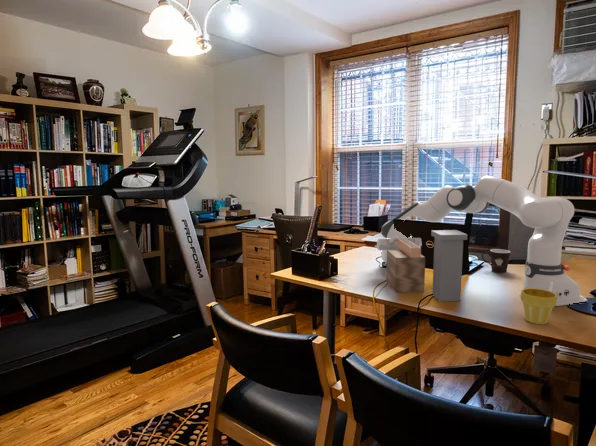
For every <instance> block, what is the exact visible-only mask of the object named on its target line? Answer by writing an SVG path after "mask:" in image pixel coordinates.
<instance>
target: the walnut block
mask: <svg viewBox="0 0 596 446" xmlns="http://www.w3.org/2000/svg"><path fill="white" fill-rule="evenodd" d="M385 271H386V274H385V276H386V279H385V282H386V283H387V284H388V286H389V287H390V288H391V289H392V290H393V291H394V293H418V292H419V293H423V292H425V281H426V279H425V278H426V277H425V276H426V275H425V274H426V273H425V272H426V256H424V255H423V254H421V258H411V257H409V256H408V255H407V254H405V253H404V252H403V251H401V250H387V263H386V270H385Z"/></svg>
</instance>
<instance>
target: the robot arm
mask: <svg viewBox="0 0 596 446" xmlns="http://www.w3.org/2000/svg"><path fill="white" fill-rule="evenodd" d="M490 205H494V206H495V207H498V208H500V209H502V210H503V211H507V212H509V213H511V214H512V215H513V216H516V217H517V218H518V219H519V220H520V221H521V223H522V224H523V225H524V226H526V227H528V228H532V229H534V231H533V233H532V236H531V237H530V238H529V240H528V244H527V256H526V260H525V263H524V275H525V276H524V280H523V283H522V284H523V285H522V288H521V290H520V293H519V296H520V297H521V291H522V290H523V289H526V288H538V289H544V290H548V291H551V292H554V293H555V294H556V295H557V302H556V306H555V307H560V306H568V305H569V304H570V305H574V304H573V303H579V302H585V301H587V302H588V299H587V298H586V297H585V296H583V295H581V290H580V289H581V288H580V285H579V284H578V283H577V282H576V281H575V280H574V279H572V278H571V277H570V276H568V275H567V274H566V273H565V271H566V272H570V271H571V269H572V268H571V266H570V265H568V264H562V263H561V259H562V249H563V248H562V247H563V243H564V239H565V235H566V232H567V229H568V226H569V224H570V221H571V220H572V218H573V217H574V214H575V206H574V204H573V203H572V202H571V201H570V200H569V199H567V198H564V197H560V196H551V197H543V196H539V195H537V194H535V193H532V192H531V191H529V190H528V188H527V187H525V186H522V185H520V184H517V183H514V182H512V181H510V180H506V179H503V178H500V177H497V176H491V175H484V176H482V177H480V178H479V179H478V180H477V182H476V184H475V185H473V186H472V185H471V184H466V185H465V184H464V185H459V186H452V185H444V186H443V187H442V188H440V189H438V190H437V191H436V192H435V193H433V195H431V197H429V198H428V199H426V201H423V202H421V201H417V202H415V203H413V204H411V205H410V206H409V207H407V208H406V209H405V210H403V211H402V212H401V213H399V214H398V215H397V216H395V217H394V218H392V219H390V220H389V221H386V222H385V223H384V224H383V225H382V226H381V236H382V237H383V238H378V239H377V240H376V244H375V245H374V248H375V249H377V250H378V251H381V254H380V256H381V259H382V261H383V262H384V263H385V264H387V250H400V249H399V248H398V247H396V241H397V238H406V239H408V240H410V241H411V242H413V243H414V244H416V245H417V246H419V247H420V248H422V245H423V244H422V243H423V242H422V238H421V237H413V236H412V235H411V236H410V237H408V238H407V237H406V236H405V235H403V234H402V233H401V232H399V231H397V230H396V228H395V229H394V224H393V220H394V219H401V220H404V221H405V220H407V219H408V218H410V217H417V218H418V219H421V220H423V221H426V222H429V223H438V222H440V221H442V220H443V219H444V218H446V217H447V216H448V215H449V214H450V213H451V212H452V211H457V212H458V211H459V212H461V213H466V214H475V215H476V214H477V215H478V214H481V213H483V212H486V211H487V209H488V208H489V207H490ZM412 237H413V238H412ZM579 304H580V303H579Z"/></svg>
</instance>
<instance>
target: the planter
mask: <svg viewBox="0 0 596 446" xmlns="http://www.w3.org/2000/svg"><path fill="white" fill-rule="evenodd" d="M396 247H398V248H399V249H400V250H401V251H403V252H404V253H405V254H407V255H408V256H409V257H411V258H421V255H422V247H419V246H417V245H416V244H414V243H413V242H411V241H410V240H408V239H406V238H397V241H396Z"/></svg>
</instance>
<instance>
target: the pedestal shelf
mask: <svg viewBox="0 0 596 446" xmlns="http://www.w3.org/2000/svg"><path fill="white" fill-rule="evenodd" d="M430 232H431V235H430V236H431V237H434V243H433V269H432V291H431V292H432V293H431V294H433V295H434V296H435V297H434V296H433V295H432V296H433V297H434V298H435V299H437V300H438V302H460V301H461V295H462V278H463V277H462V276H463V274H462V273H463V254H464V252H463V251H464V241H468V234H467V233H464V232H462V231H460V230H458V229H451V230H450V229H443V230H441V229H439V230H433V229H432V230H431V231H430Z"/></svg>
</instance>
